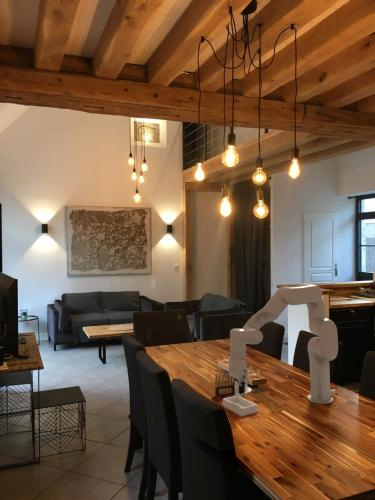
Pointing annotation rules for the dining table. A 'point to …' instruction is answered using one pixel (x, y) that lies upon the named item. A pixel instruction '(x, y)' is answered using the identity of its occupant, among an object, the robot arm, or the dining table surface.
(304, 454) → the dining table surface
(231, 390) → the ammunition clip
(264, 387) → the dining table surface
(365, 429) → the dining table surface
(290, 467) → the dining table surface
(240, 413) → the trough
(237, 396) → the cylinder
